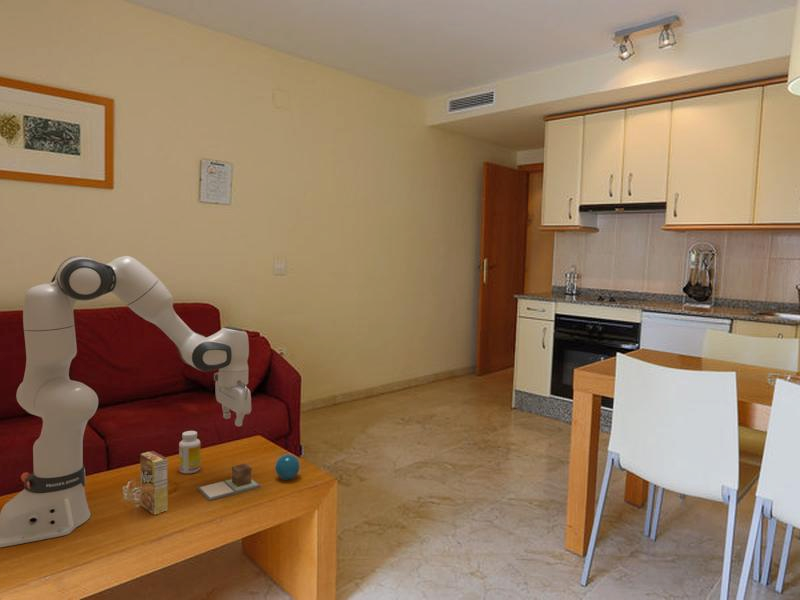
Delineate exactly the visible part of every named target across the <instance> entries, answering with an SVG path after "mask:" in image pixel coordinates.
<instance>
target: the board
mask: <svg viewBox="0 0 800 600" xmlns="http://www.w3.org/2000/svg"><path fill="white" fill-rule="evenodd" d="M256 489H261V484H259V483H258V482H257V481H255V480H254V479H253V478H251V484H247V485H243V486H239V487H237V486H236V485H235V484H234V483H233V482H232V478H229V479H226V480H221V481H218V482H213V483H209V484H205V485H203V486H202V485H201V486H198V487H197V490H198V492H200V493H201V494H202V496H204V497H205V498H206V499H207V500H208V502H212V501H215V499H216V500H218V499H222V498H225V497H230V496H234V495H237V494H241V493H245V492H249V491H252V490H256Z"/></svg>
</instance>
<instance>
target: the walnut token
mask: <svg viewBox="0 0 800 600" xmlns="http://www.w3.org/2000/svg"><path fill="white" fill-rule="evenodd" d="M231 479H232V482H233V483H234V484H235V485H236V486H237V487H239V486H243V485H247V484H251V479H252V467H251V466H249V465H248V464H247V463H241V464H236V465H234V466H231Z"/></svg>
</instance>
